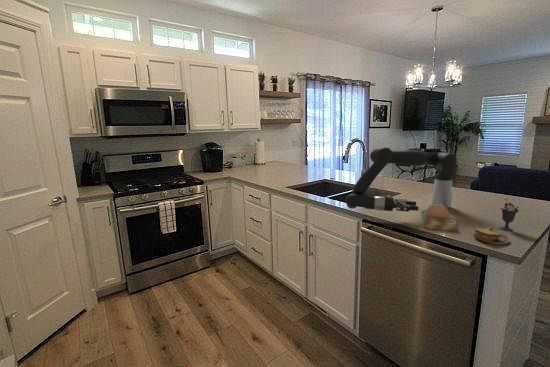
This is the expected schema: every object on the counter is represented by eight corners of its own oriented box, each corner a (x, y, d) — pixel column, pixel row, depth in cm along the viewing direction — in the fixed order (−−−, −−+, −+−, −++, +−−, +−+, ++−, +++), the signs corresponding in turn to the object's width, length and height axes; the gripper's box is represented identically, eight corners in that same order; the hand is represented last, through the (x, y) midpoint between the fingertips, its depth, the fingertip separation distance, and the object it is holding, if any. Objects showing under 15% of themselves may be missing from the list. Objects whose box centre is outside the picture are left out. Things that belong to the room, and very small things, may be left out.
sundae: (493, 227, 133) (498, 197, 130) (506, 226, 134) (511, 197, 130) (505, 232, 127) (510, 201, 123) (519, 231, 127) (524, 201, 124)
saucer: (432, 226, 139) (422, 210, 139) (431, 225, 140) (422, 209, 140) (453, 218, 135) (442, 201, 135) (452, 217, 136) (441, 200, 136)
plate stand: (421, 218, 148) (422, 212, 147) (420, 214, 153) (420, 208, 153) (447, 220, 144) (447, 213, 143) (444, 216, 149) (445, 210, 149)
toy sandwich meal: (517, 245, 114) (519, 234, 113) (485, 246, 114) (487, 235, 113) (493, 233, 126) (494, 224, 125) (464, 234, 126) (466, 224, 125)
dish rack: (426, 228, 134) (426, 221, 134) (422, 219, 146) (422, 213, 146) (456, 230, 130) (457, 223, 129) (449, 221, 142) (450, 215, 141)
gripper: (384, 200, 138) (420, 202, 132) (383, 193, 151) (415, 195, 145) (383, 214, 139) (418, 217, 134) (382, 206, 153) (414, 208, 147)
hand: (417, 206), depth 140 cm, fingers open, 8 cm apart
